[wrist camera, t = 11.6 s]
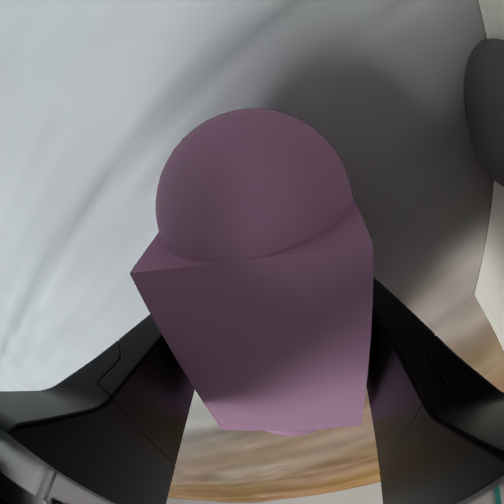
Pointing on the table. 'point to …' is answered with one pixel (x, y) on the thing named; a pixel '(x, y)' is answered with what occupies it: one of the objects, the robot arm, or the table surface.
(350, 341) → the dome-topped mauve block
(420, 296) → the table surface
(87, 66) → the table surface
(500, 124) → the wagon bed
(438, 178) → the table surface
